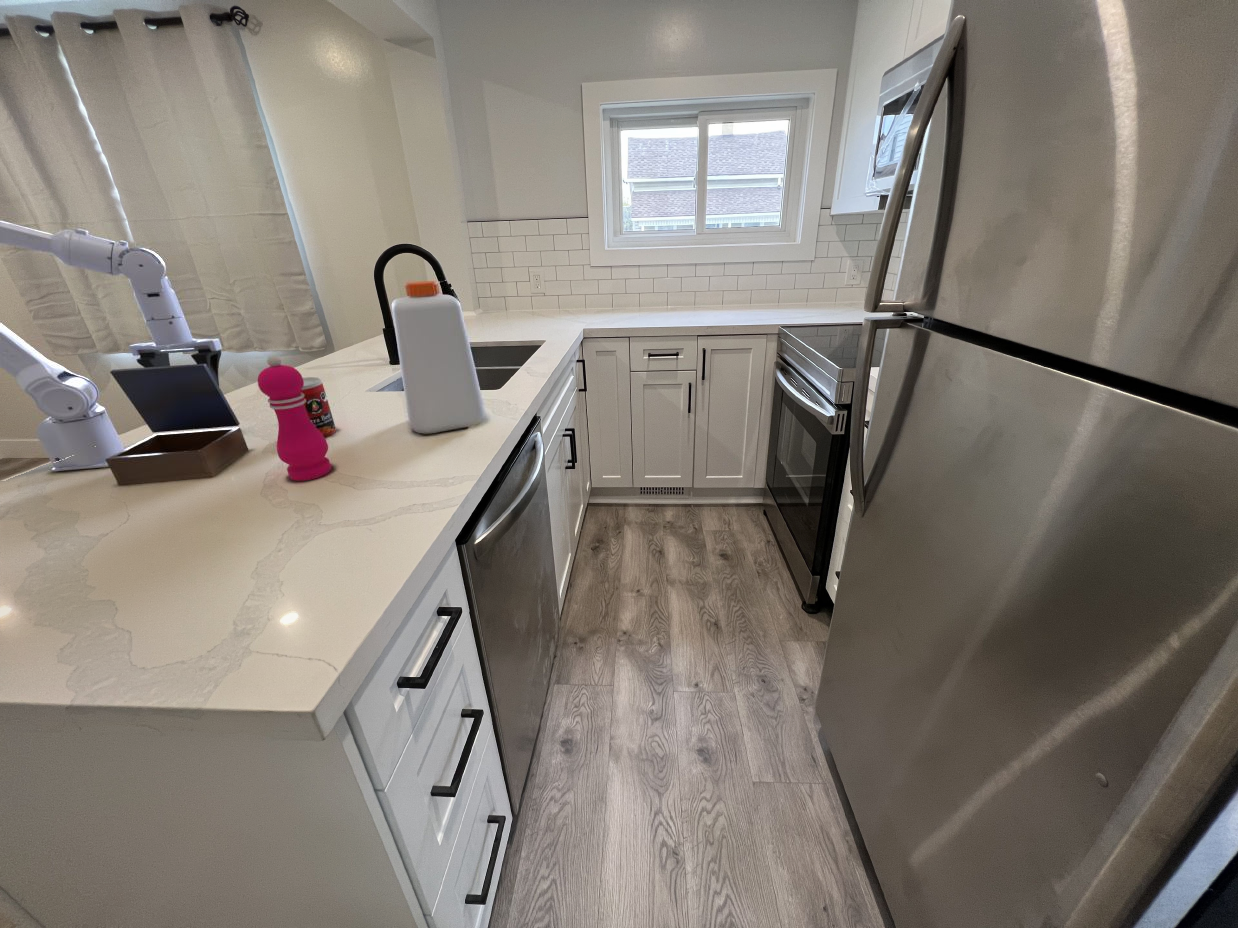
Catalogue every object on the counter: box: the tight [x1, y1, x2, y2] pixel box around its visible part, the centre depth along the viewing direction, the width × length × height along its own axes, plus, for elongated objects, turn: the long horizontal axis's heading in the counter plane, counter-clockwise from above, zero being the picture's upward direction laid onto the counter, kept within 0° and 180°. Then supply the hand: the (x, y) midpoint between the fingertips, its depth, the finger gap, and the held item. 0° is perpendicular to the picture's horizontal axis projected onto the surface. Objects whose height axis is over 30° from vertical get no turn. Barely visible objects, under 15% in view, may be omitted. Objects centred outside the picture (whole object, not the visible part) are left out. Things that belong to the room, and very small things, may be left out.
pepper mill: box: [257, 355, 332, 482], centre depth 80 cm, size 7×7×20 cm
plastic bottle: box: [391, 280, 487, 435], centre depth 101 cm, size 15×15×28 cm
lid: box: [109, 363, 240, 434], centre depth 90 cm, size 12×15×5 cm
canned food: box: [301, 376, 336, 439], centre depth 99 cm, size 8×8×11 cm
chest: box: [105, 426, 250, 486], centre depth 88 cm, size 12×15×5 cm
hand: (193, 389), depth 98 cm, fingers open, 7 cm apart
